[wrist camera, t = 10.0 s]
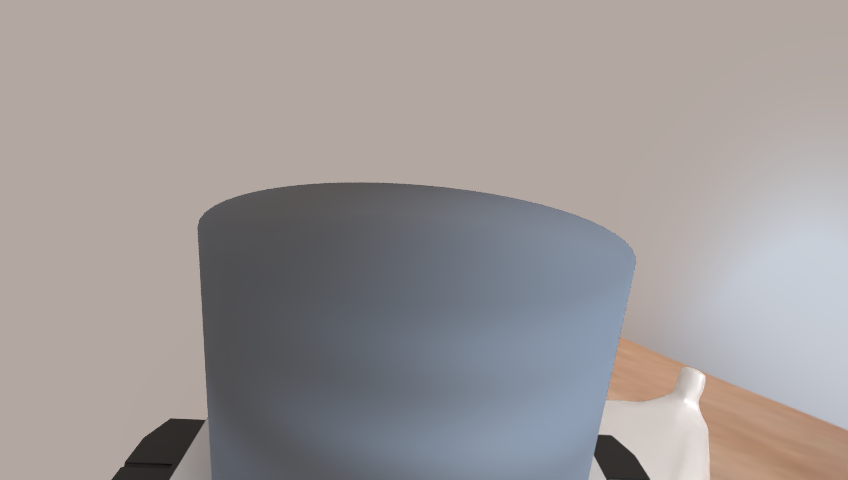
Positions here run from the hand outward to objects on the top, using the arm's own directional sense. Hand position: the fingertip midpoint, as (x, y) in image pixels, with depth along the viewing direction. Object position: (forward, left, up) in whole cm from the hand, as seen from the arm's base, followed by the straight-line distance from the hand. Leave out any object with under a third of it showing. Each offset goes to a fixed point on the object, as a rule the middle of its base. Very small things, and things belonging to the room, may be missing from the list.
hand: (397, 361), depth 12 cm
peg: (0, +5, -7) cm, 9 cm away
